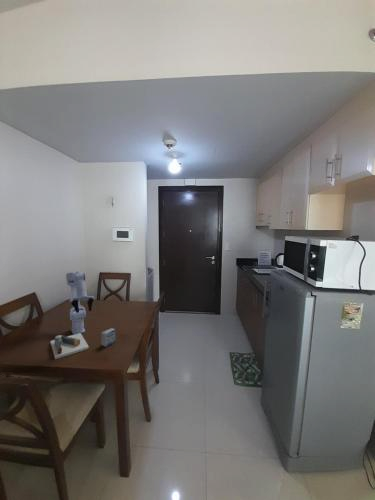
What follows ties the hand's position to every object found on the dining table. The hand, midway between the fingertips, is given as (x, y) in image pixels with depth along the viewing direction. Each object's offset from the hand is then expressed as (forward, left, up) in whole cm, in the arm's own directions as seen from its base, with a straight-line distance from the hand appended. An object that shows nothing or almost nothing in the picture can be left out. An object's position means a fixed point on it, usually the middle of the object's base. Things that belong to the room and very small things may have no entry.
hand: (84, 311), depth 134 cm
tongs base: (-7, -13, -22) cm, 26 cm away
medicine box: (+5, +13, -23) cm, 27 cm away
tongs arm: (-8, -9, -21) cm, 24 cm away
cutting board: (-7, -8, -23) cm, 26 cm away
